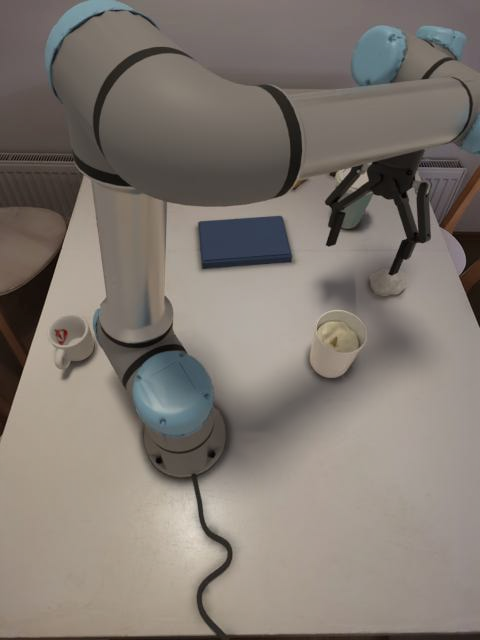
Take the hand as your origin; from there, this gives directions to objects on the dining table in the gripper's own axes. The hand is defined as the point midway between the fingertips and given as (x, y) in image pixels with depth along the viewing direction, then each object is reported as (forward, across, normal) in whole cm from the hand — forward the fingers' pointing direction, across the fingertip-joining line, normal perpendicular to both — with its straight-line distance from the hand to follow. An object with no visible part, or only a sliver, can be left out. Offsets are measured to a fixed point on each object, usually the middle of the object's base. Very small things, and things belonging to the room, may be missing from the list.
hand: (360, 258), depth 82 cm
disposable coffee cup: (+4, +20, -31) cm, 37 cm away
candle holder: (+23, -2, +1) cm, 23 cm away
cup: (+32, +38, +36) cm, 61 cm away
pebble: (+12, 0, -22) cm, 25 cm away
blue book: (+12, +33, -7) cm, 36 cm away
